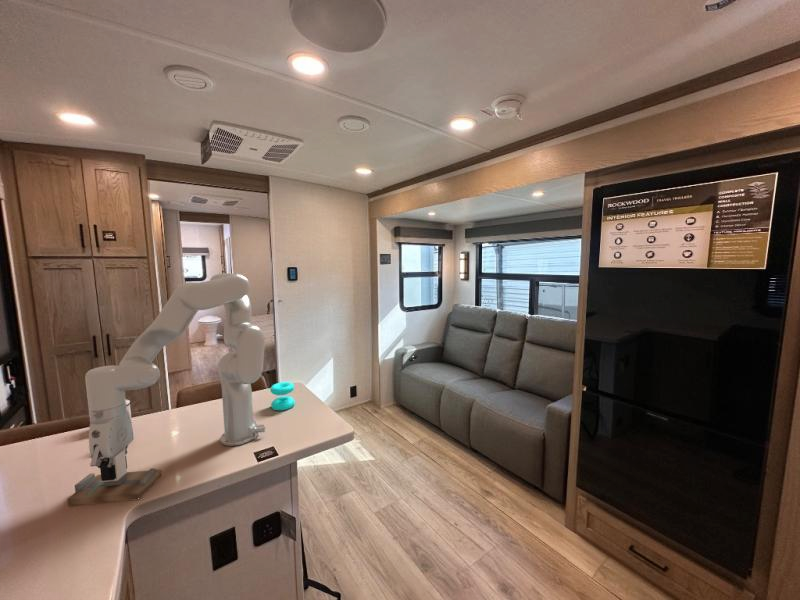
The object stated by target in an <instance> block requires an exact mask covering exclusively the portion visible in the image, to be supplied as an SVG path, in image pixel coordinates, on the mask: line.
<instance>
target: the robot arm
mask: <svg viewBox="0 0 800 600" xmlns="http://www.w3.org/2000/svg"><path fill="white" fill-rule="evenodd" d="M250 288H251V285H250V281H249V280H248V278H247V277H246V276H245V275H243V274H241V273H233V272H232V273H227V272H226V273H225V272H223V273H217V274H214V275H213V276H212V277H210V280H206V281H201V282H195V281H193V282H192V281H189V282H184V283H181V284H180V285H178V286H177V287H176V288H175V290H174V291H173V293H172V294H171V295H170V297H169V299H168V300H167V301H166V303H165V304H164V306H163V307H162V309H161V311H160V312H159V313H158V314H157V316H156V318H155V319H154V320H153V322H152V323H151V324H150V325H149V326H148V327H147V328H146V329H144V331H143V332H142V333H141V334H140V335H139V336H138V337H137V338H136V339H135V340H134V341H133V343H132V344H131V345H130V347H129V348H128V349H127V351H126V353H125V354H124V356H123V357H122V359H121V361H120V362H119V364H118V365H103V366H99V367H94V368H92V369H89V370H88V371H87V372H86V373H85V375H84V378H85V387H86V388H85V389H86V398H87V407H88V415H89V422H90V423H89V429H88V444H89V445H88V448H89V456H90V458H91V460H90V464H89V466H90V467H97V468H98V469H100V475H101V480H102V481H108V480H114V479H115V478H116V473H115V465H113V456H115V455H116V454H117V453H119V452H120V451H121V450H122V449H125V459H126V469H127V470H128V462H127V454H128V447H129V445H130V444H131V443H133V441H134V438H135V437H134V435H135V434H134V429H133V424H132V422H131V420H132V417H131V418H130V415H129V412H128V410H126V400H127V399H126V391H130V390H133V391H134V390H141V389H146V388H149V387H151V386H153V385H154V384H156V382H157V381H158V380H159V379H160V376H161V370H160V367H158V366H157V365H156V364H155V363H153V361H154V360H155V358H156V357H157V355H158V354H159V353H160V351H161V350H162V349H163V348H165V346H167V345H168V344H170V343H171V342H173V341H175V340H177V339H180V337H182V336H183V335H184V334H185V332H186V331H187V329H188V328H189V326H190V324H191V323H192V321H193V319H194V318H195V317H196V315H197V313H198V311H205V310H210V309H214V308H217V307H221V306H223V307H224V314H225V315H224V327H223V329H224V330H223V341H224V344H225V345H226V346H227V347H228V348H230V349H234V350H236V351H234V352H233V351H231V352H230V351H229V352H228V353H226V354H224V355H223V356H222V357H221V358H220V359H219V361H218V366H217V372H218V377H219V381H220V386H221V395H222V396H221V398H222V399H221V400H222V413H223V429H224V432H223V434H221V436H220V437H219V442H220V444H221V445H223V446H227V447H229V446H230V447H236V446H241V445H244V444H246V443H247V444H248V443H249V442H251V441H252V440H255V439H256V438H257V437H258V435H259V433H265V432H266V426H265V424H263V423H262V424H257V420H254V414H253V412H254V411H253V399H252V398H253V393H252V385H251V384H254V383H256V382H257V381H258V380H259V379H260V377H261V375H262V373H263V369H264V360H265V346H266V343H265V342H266V341H265V334H264V332H263V330H262V329H261V328H260V327H259V326H257V325H255V324H252V317H253V316H252V312H253V311H252V303H251V300H250V298H249V296H248V294H249V291H250ZM105 458H107V461H104V459H105Z"/></svg>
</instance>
